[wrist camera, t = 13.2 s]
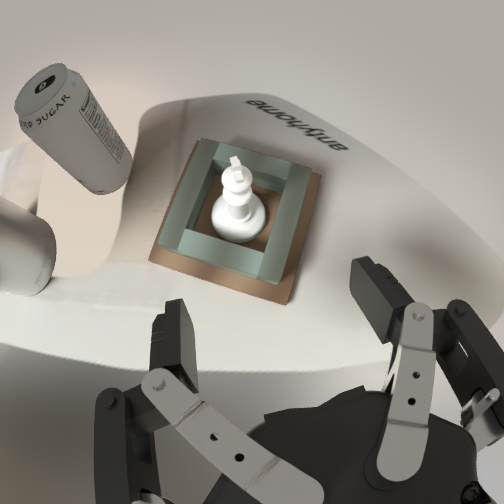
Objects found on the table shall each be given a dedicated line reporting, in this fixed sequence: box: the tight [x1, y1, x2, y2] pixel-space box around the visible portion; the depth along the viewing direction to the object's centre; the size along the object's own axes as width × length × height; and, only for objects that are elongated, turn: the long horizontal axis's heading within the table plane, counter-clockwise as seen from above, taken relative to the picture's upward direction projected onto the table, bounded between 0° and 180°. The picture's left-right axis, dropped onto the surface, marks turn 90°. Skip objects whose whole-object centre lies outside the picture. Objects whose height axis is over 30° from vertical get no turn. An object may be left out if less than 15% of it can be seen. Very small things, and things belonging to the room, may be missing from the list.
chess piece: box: [211, 156, 266, 243], centre depth 21 cm, size 5×5×10 cm
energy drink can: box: [15, 63, 133, 195], centre depth 20 cm, size 6×6×15 cm
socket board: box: [148, 138, 321, 305], centre depth 25 cm, size 13×13×4 cm
